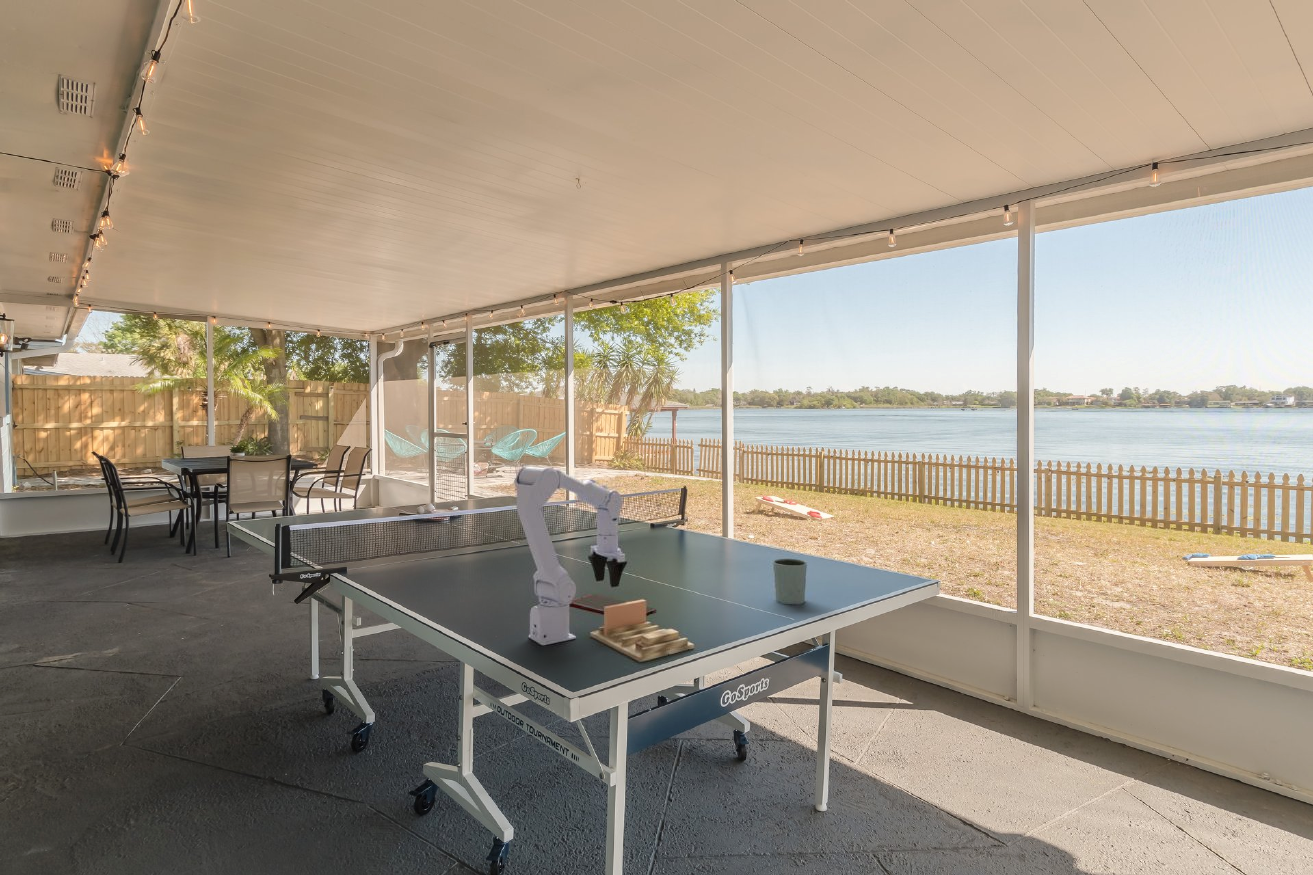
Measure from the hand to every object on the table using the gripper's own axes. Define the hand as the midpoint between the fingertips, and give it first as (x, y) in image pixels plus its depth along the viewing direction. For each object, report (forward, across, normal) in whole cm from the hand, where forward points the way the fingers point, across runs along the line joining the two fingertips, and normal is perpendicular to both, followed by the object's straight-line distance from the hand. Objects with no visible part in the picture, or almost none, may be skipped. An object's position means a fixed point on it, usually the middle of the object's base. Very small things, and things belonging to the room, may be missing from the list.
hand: (607, 583), depth 186 cm
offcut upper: (+8, -26, +2) cm, 28 cm away
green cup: (+11, -14, -57) cm, 60 cm away
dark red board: (+11, +10, -8) cm, 17 cm away
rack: (+10, -18, +2) cm, 21 cm away
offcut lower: (+9, -26, +2) cm, 28 cm away
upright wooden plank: (+9, -12, +2) cm, 15 cm away
